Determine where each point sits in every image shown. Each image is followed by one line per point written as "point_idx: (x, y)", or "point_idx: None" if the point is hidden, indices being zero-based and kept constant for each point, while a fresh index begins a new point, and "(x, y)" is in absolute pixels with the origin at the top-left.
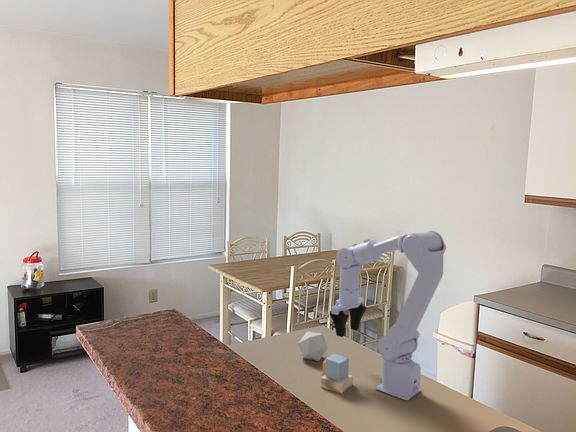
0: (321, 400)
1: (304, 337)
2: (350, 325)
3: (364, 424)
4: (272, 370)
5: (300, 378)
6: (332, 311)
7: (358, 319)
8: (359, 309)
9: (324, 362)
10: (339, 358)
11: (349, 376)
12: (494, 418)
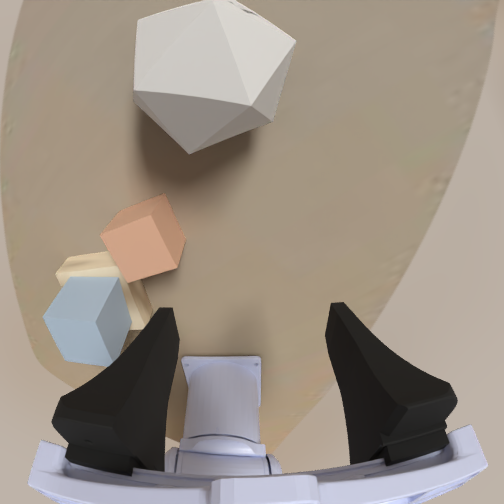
0: (38, 297)
1: (159, 29)
2: (337, 313)
3: (69, 380)
4: (21, 75)
5: (49, 179)
6: (41, 458)
7: (344, 395)
8: (357, 461)
9: (103, 240)
10: (84, 348)
11: (134, 324)
12: None
